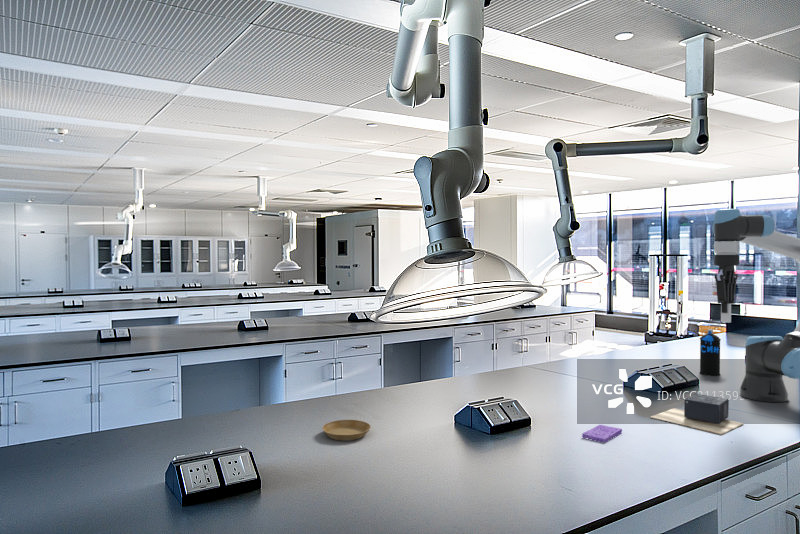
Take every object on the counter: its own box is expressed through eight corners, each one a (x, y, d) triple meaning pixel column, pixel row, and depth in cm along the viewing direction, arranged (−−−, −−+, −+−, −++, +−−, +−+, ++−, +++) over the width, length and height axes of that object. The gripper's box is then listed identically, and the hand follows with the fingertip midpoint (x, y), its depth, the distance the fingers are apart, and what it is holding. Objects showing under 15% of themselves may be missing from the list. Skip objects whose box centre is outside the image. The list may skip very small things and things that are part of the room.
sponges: (581, 439, 165) (581, 433, 165) (599, 429, 174) (599, 423, 174) (604, 445, 160) (605, 438, 160) (622, 434, 170) (622, 428, 169)
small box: (693, 412, 189) (683, 418, 182) (694, 393, 189) (683, 398, 182) (728, 418, 182) (719, 425, 174) (729, 398, 182) (719, 404, 174)
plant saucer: (368, 426, 178) (367, 418, 178) (373, 441, 164) (373, 433, 164) (321, 429, 176) (321, 420, 176) (322, 445, 161) (322, 436, 161)
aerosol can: (700, 371, 253) (701, 327, 253) (721, 373, 248) (721, 328, 248) (698, 374, 247) (698, 329, 246) (719, 376, 242) (719, 331, 241)
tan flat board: (674, 409, 194) (674, 408, 194) (743, 424, 176) (743, 423, 176) (650, 417, 184) (650, 416, 184) (721, 435, 167) (721, 433, 167)
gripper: (723, 253, 198) (722, 319, 199) (706, 254, 191) (705, 322, 191) (746, 253, 193) (745, 321, 193) (730, 254, 185) (729, 325, 185)
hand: (725, 322), depth 192 cm, fingers closed
